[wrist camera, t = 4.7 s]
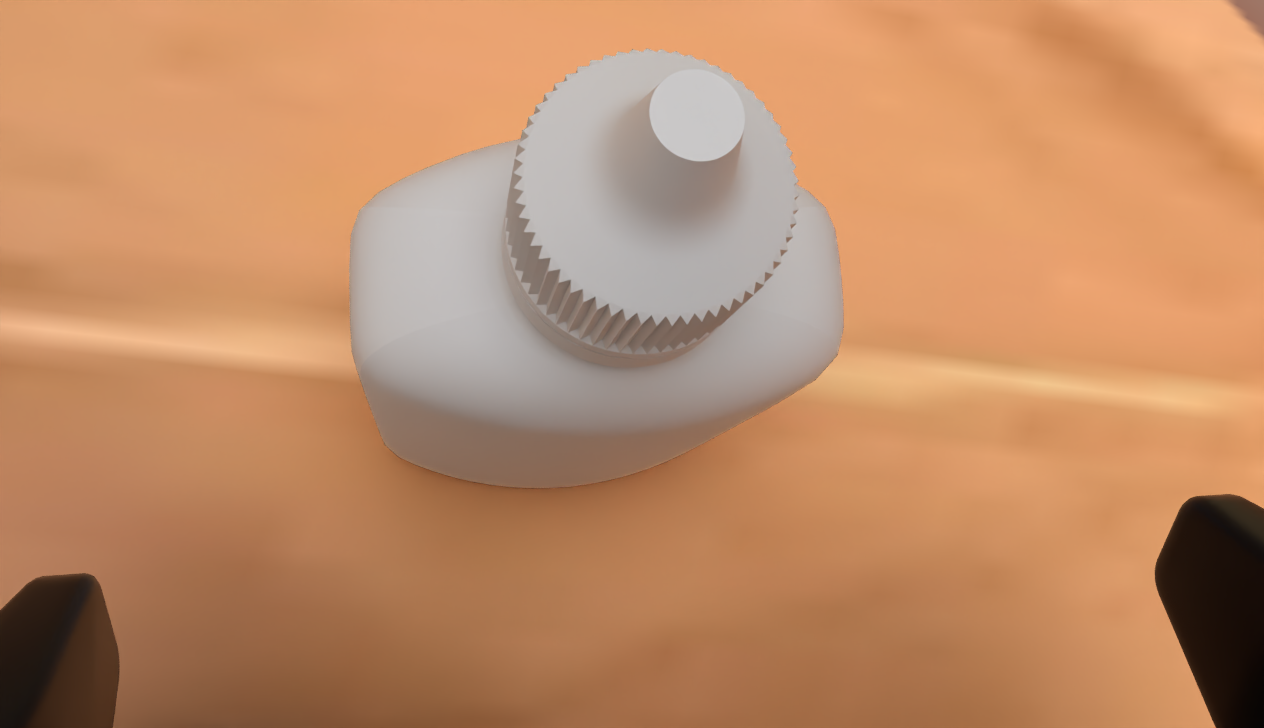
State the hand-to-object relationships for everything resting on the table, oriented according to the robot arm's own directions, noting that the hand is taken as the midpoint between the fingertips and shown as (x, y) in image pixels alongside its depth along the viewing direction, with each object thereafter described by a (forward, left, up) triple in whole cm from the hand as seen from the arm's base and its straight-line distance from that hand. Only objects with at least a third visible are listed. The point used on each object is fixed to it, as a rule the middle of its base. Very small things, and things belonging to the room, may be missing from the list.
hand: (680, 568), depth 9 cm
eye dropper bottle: (+2, -3, -10) cm, 11 cm away
